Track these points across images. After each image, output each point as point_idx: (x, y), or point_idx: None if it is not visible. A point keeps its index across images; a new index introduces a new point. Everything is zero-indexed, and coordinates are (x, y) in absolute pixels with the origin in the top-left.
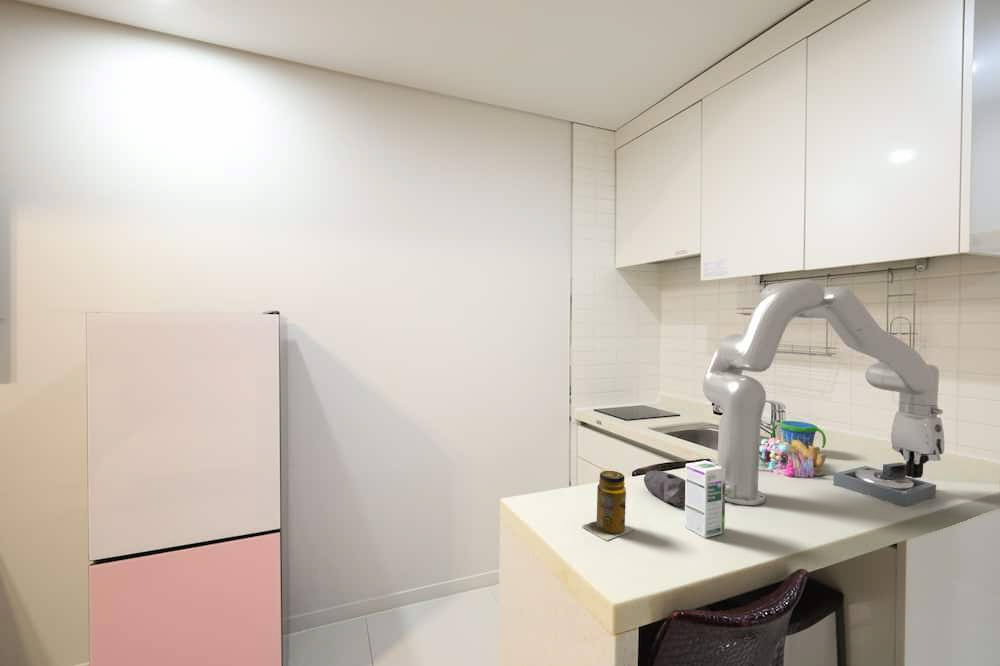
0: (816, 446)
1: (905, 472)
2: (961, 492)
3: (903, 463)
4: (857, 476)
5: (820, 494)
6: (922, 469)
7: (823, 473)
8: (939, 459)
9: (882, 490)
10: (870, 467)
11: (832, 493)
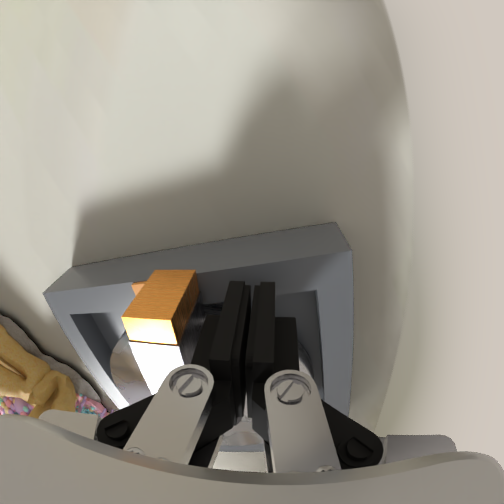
0: None
1: (196, 317)
2: (323, 3)
3: (147, 337)
4: None
5: (221, 464)
6: (297, 348)
7: (83, 379)
8: (446, 451)
9: None
10: (58, 295)
11: (219, 452)
